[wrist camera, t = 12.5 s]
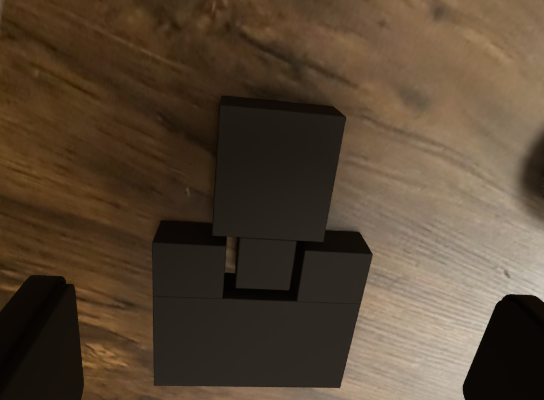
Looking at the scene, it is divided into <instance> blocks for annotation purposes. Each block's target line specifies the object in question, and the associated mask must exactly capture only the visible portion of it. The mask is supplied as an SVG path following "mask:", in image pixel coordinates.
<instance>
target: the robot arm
mask: <svg viewBox="0 0 544 400" xmlns="http://www.w3.org/2000/svg"><path fill="white" fill-rule="evenodd" d="M83 387H84V378H83V368H82V357H81V347H80V336H79V325H78V315H77V304H76V293H75V287H74V285H73V284H66V280H65V278H64V277H62V276H42V275H32V276H30V277H29V278H28V279H27V280H26V281H25V282H24V283H23V285H22V286H21V287H20V288H19V289H18V291H17V292H16V293H15V294H14V296H13V297H12V298H11V299H10V301H9V302H8V303H7V304H6V305H5V307H4V308H3V309H2V310H1V312H0V400H81V397H82V394H83ZM463 395H464V398H465V400H544V302H543V301H542V300H540V299H539V298H538V297H536V296H533V295H516V294H509V295H506V296H505V297H503V299H502V300H501V301H499V302H498V303H497V304H496V306H495V308H494V311H493V313H492V316H491V318H490V321H489V323H488V325H487V328H486V330H485V333H484V335H483V338H482V340H481V342H480V345H479V347H478V350H477V352H476V355H475V357H474V359H473V362H472V364H471V367H470V369H469V371H468V374H467V376H466V379H465V381H464V384H463Z"/></svg>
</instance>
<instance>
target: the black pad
mask: <svg viewBox="0 0 544 400" xmlns="http://www.w3.org/2000/svg"><path fill="white" fill-rule="evenodd" d="M345 121H346V116H344V115H343V114H342V113H341V112H340V111H338V110H337V109H336V108H335V107H332V106H322V105H312V104H302V103H291V102H281V101H271V100H261V99H251V98H241V97H231V96H222V97H221V101H220V105H219V122H218V140H217V157H216V175H215V193H214V210H213V228H212V235H213V236H229V237H238V241H237V253H236V276H235V287H236V288H250V289H274V290H289V288H290V282H291V275H292V269H293V262H294V256H295V250H296V243H297V241H296V240H299V241H316V242H323V240H324V235H325V230H326V224H327V219H328V213H329V208H330V202H331V197H332V192H333V186H334V181H335V175H336V170H337V165H338V159H339V154H340V148H341V143H342V137H343V132H344V127H345Z"/></svg>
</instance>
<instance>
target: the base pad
mask: <svg viewBox="0 0 544 400" xmlns="http://www.w3.org/2000/svg"><path fill="white" fill-rule="evenodd" d="M212 228H213V224H208V223H192V222H175V221H161V222H160V224H159V227H158V229H157V232H156V235H155V237H154V240H153V242H152V261H153V345H154V385H155V386H234V387H316V388H340V386H341V382H342V378H343V374H344V370H345V366H346V362H347V358H348V354H349V350H350V345H351V341H352V337H353V333H354V329H355V325H356V321H357V317H358V313H359V309H360V305H361V301H362V297H363V292H364V288H365V284H366V280H367V276H368V272H369V268H370V264H371V260H372V256H373V254H372V252H371V251H370V249H369V247H368V245H367V244H366V242H365V240H364V239H363V237H362V235H361V234H360V233H358V232H342V231H325V235H324V240H323V242H316V241H299V240H297V243H296V250H295V256H294V263H293V269H292V276H291V282H290V288H289V290H274V289H250V288H236V287H235V276H236V274H229V273H224V272H225V258H226V244H227V236H213V235H212Z"/></svg>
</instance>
